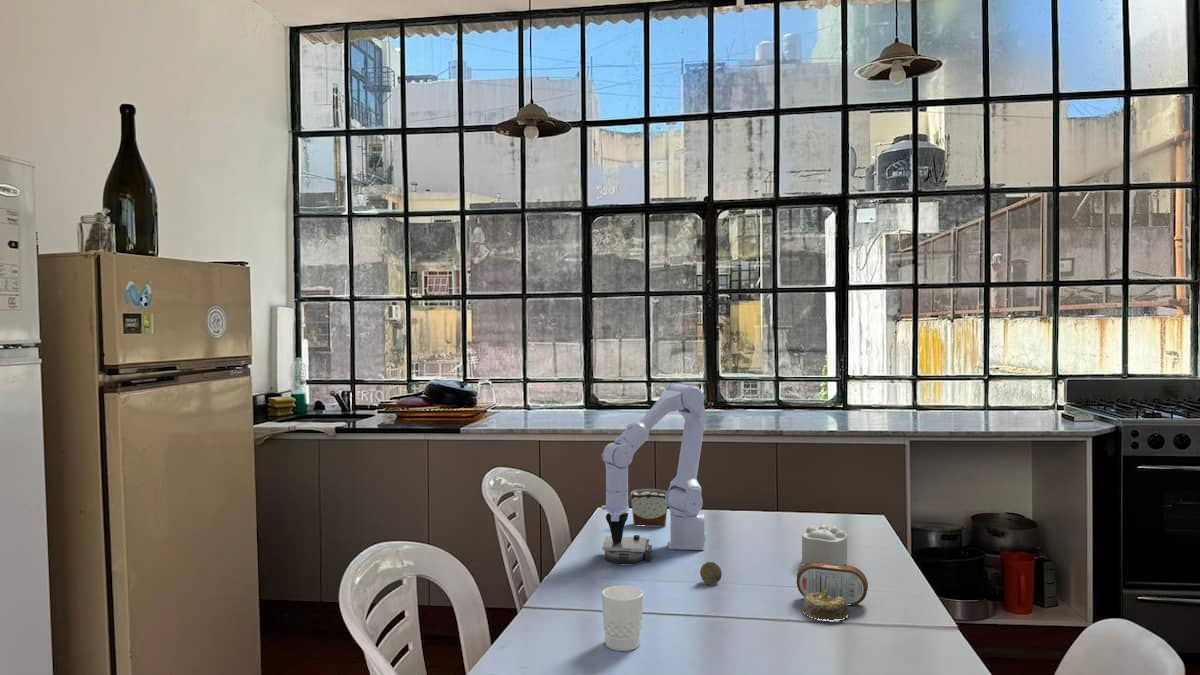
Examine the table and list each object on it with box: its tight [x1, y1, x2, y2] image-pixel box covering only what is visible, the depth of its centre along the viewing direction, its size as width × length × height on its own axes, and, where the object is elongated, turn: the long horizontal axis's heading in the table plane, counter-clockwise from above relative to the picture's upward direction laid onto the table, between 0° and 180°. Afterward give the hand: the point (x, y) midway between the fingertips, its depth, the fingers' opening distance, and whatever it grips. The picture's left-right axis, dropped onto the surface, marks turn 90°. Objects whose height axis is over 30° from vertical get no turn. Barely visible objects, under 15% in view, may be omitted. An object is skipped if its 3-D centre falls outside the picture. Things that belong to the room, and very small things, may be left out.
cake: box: [801, 590, 850, 620], centre depth 166 cm, size 10×10×5 cm
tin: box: [796, 562, 869, 606], centre depth 172 cm, size 15×3×8 cm, turn 71°
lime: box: [699, 561, 723, 586], centre depth 185 cm, size 4×5×5 cm
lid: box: [602, 534, 650, 552], centre depth 204 cm, size 12×10×2 cm
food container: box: [628, 488, 668, 527], centre depth 237 cm, size 12×6×10 cm, turn 84°
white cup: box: [601, 585, 644, 652], centre depth 151 cm, size 8×8×10 cm
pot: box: [604, 544, 653, 565], centre depth 204 cm, size 12×17×3 cm
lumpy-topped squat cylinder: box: [801, 524, 848, 565], centre depth 201 cm, size 10×13×9 cm
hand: (617, 542), depth 204 cm, fingers closed, pressing on lid
